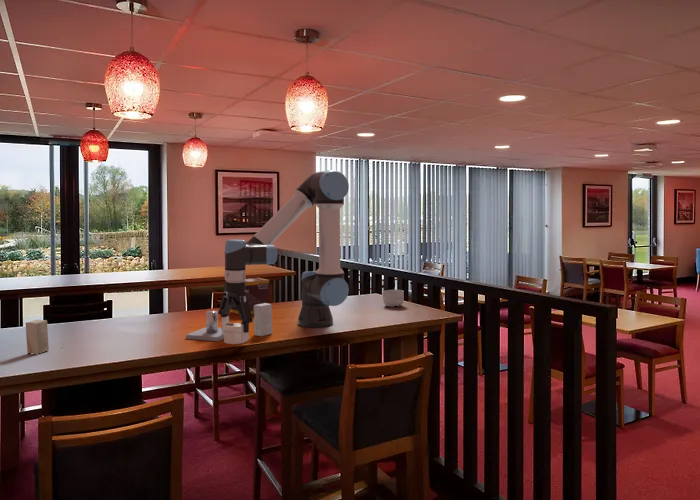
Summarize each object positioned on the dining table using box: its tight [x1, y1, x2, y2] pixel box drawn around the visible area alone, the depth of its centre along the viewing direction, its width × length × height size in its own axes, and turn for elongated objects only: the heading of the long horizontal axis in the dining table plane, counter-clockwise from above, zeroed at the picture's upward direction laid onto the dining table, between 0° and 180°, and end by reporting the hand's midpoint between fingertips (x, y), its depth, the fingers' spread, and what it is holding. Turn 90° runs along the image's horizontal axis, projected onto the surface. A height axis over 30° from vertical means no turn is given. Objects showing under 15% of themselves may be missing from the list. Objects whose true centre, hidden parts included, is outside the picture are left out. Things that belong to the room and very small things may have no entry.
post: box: [205, 310, 219, 333], centre depth 203 cm, size 4×4×8 cm
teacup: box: [382, 289, 405, 306], centre depth 266 cm, size 14×11×8 cm
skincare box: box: [253, 303, 273, 337], centre depth 205 cm, size 6×4×12 cm
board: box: [185, 326, 224, 342], centre depth 203 cm, size 14×14×2 cm
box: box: [25, 319, 50, 354], centre depth 178 cm, size 5×4×11 cm
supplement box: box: [230, 277, 270, 315], centre depth 250 cm, size 10×15×16 cm
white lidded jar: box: [223, 322, 247, 345], centre depth 194 cm, size 8×8×7 cm
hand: (234, 337), depth 194 cm, fingers open, 13 cm apart
